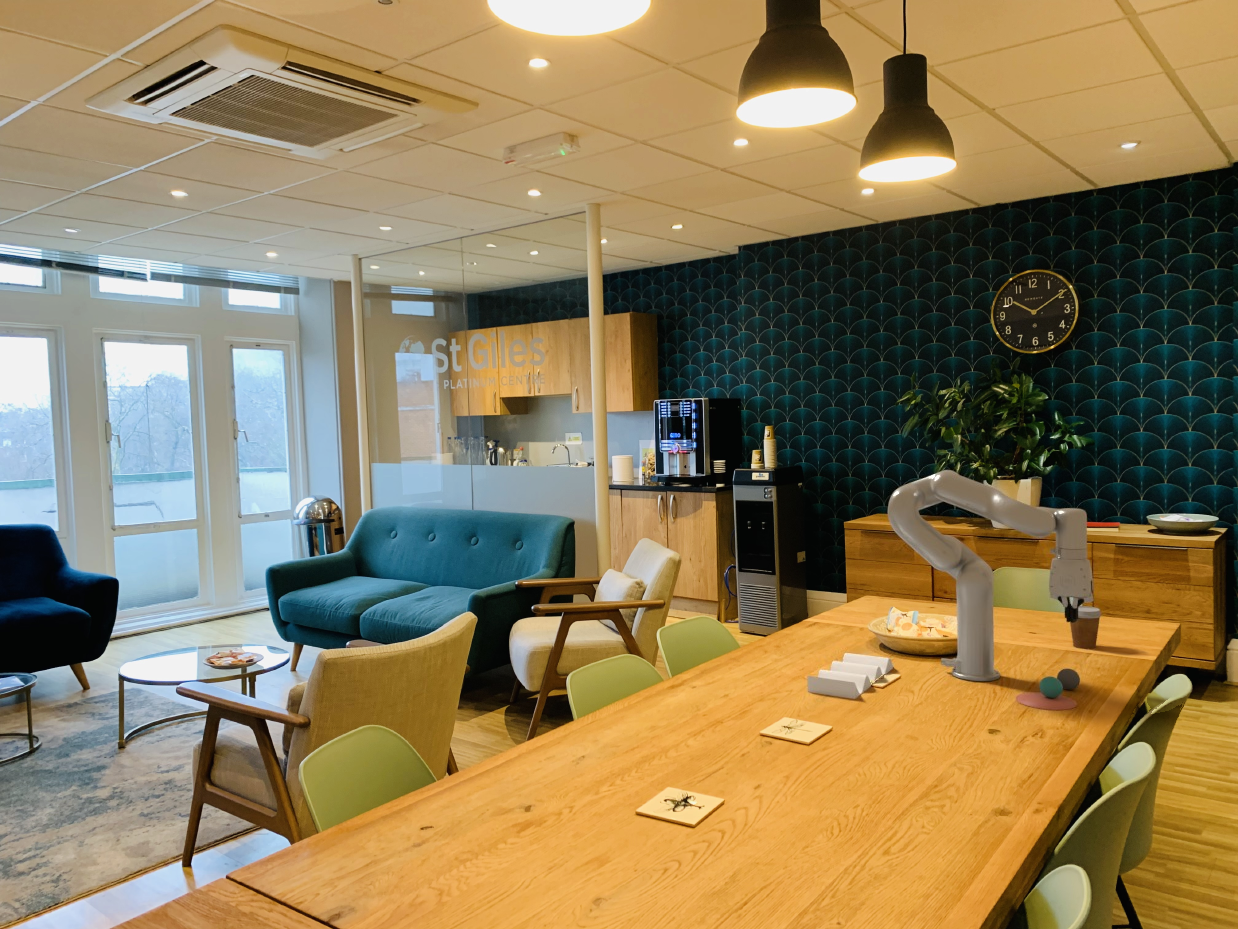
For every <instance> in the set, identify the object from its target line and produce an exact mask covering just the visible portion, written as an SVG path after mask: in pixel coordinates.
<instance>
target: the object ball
mask: <svg viewBox="0 0 1238 929" xmlns="http://www.w3.org/2000/svg"><path fill="white" fill-rule="evenodd" d="M1038 688H1039V691H1040V693H1042V694H1043V695H1044V696H1046V697H1048V698H1057V697H1059V696H1060V695H1061V696H1062V693H1063V691H1064V688H1063V686H1062V683H1061V682H1060V681H1059V680H1058V679H1057V677H1055V676H1045V677H1043V678H1042V679H1041V680H1040V681H1039V687H1038Z"/></svg>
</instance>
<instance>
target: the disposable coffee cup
mask: <svg viewBox="0 0 1238 929" xmlns="http://www.w3.org/2000/svg"><path fill="white" fill-rule="evenodd" d="M1101 616H1102V612H1101V609H1100V608H1097V607H1095V606H1094V607H1093V606H1085V605H1084V606H1083V605H1080V606H1079V607H1078V619H1077V620H1076V622H1074V623H1071V622H1069V624H1070V629H1071V630H1070V632H1071V639H1072V645H1073V647H1074V648H1079V649H1083V650H1084V649H1085V650H1092V649H1096V647H1097V640H1098V632H1099V626H1100V618H1101Z"/></svg>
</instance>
